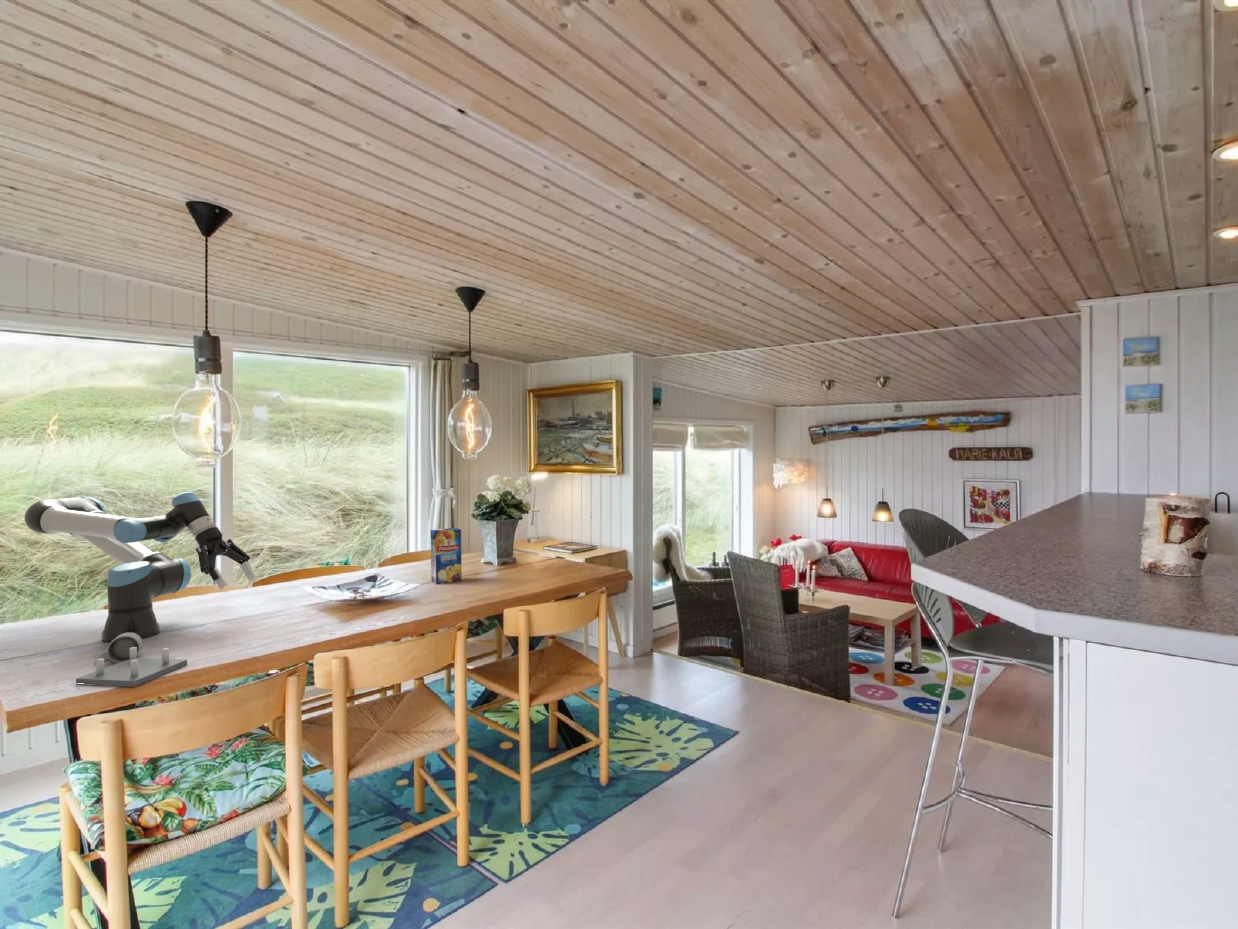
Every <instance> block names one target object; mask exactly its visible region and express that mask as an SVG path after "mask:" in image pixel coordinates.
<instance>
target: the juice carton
mask: <svg viewBox="0 0 1238 929" xmlns="http://www.w3.org/2000/svg"><path fill="white" fill-rule="evenodd" d="M462 568H463V567H462V529H461V528H457V527H452V528H451V527H449V528H437V529H430V569H431V570H430V571H431V572H430V573H431V574H430V575H431V576H430V577H431V578H430V580H431V581H432V582H431V583H433V582H434V583H433V584H435V583H436V584H435V585H440V584H439V583H444V584H447V583H446V582H452V583H459V582H458V581H461V582H462V580H463V579H462V574H463V573H462V570H463V569H462Z"/></svg>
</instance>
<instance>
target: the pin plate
mask: <svg viewBox="0 0 1238 929" xmlns="http://www.w3.org/2000/svg"><path fill="white" fill-rule="evenodd" d="M129 649H130V659H128V660H125V661H123V662H120V663H114V664H112V665H109V666H106V667H105V661H104V658H101V659H97V660H96V659H95V664H96V666H95V667H96V668H95V671H93V672H90V673H87V674H85V675H82V676H80V677H77V678H75V684H76V683H84V684H95V685H94V686H104V685H111V686H110V687H130V688H133V687H134V688H135V687H138V686H141V685H142V684H145V683H148V682H150V681H153V680H155V679H158V678H159V677H162V676H164V675H166V674H169V673H171V672H173V671H176V670H178V669H182V668H183V667H185V666H187V665H188V659H178V658H170V648H169V647H164V648H161V658H154V657H151V658H148V657H138V655H137V647H131V648H129Z"/></svg>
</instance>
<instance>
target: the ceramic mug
mask: <svg viewBox="0 0 1238 929" xmlns="http://www.w3.org/2000/svg"><path fill="white" fill-rule="evenodd" d="M131 647H137V656H138V654H140V651H141V649H142V647H143V638H141V637H140V636H139V635H137V634H135V633H131V632H129V633H123V634H121V635H119V636H117V637H116V638H115V639H114V640H112V641H111V642H109V644H108V646H107V648H106V651H105V652H104V653H102V654H100V655H98V656H97V657H96V658H95V661H96V660H97V659H101V658H104V662H106V661H108V660H110V661H111V662H113V663H115V664H117V663H120V662H123V661H125V660H128V659H130V649H129V648H131Z"/></svg>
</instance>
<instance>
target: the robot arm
mask: <svg viewBox="0 0 1238 929" xmlns="http://www.w3.org/2000/svg"><path fill="white" fill-rule="evenodd" d="M171 506H172V507H173V508H172V509H170V511H168V512H167V513H165V514H164V515H156V516H148V517H140V518H138V517H129V516H121V515H112V514H106V513H107V512H106V510H105V507H104V504H103V503H102V502H101V501H99V500H98V499H97V498H94V497H91V496H73V497H63V498H62V497H61V498H49V499H48V498H47V499H41V500H38V501H37V502H35V503H32V504H31V505H30V506H29V507H28V508H27V510H26V511H25V514H24V522H25V525H26V526H27V527H28V529H30V530H31V531H32V532H34V533H40V534H45V535H46V534H47V535H48V534H49V535H58V534H60V533H65V534H69V535H71V536H72V537H74V538H76V539H78V540H84V539H85V540H86V541H88V542H89V543H90V544H92V545H94V546H95V547H96V548H98V549H99V550H101V551H102V552H104V553H105V554H107V556H110V557H111V558H112V559H114V560H115V561H117V562H118V563H120V564H119V565H116V566H114V567H112V568H110V569H109V570H108V572H107V580H106V585H107V586H106V588H107V610H108V611H107V618H106V620H105V624H104V629H102V631H101V640H102V641H103V640H104V642H109V641H110V642H111V641H112V640H114V639H115V638H116V637H117V636H119V635H121V634H123V633H129V632H131V633H135V634H137V635H139V636H140V637H141V639H144V637H145V638H148V636H149V637H151V636H155V635H157V634H159V633H160V624H159V622H158V621H157V618H156V614H155V612H154V609H153V607H154V606H153V599H154V598H158V597H162V596H166V595H170V594H175V593H178V592H181V591H182V590H184V589H186V588H187V587H188V586H189V584H190V583H191V582H190V581H191V580H192V579H191V578H192V572H191V571H192V570H191V566H190V564H189V563H188V561H186V560H185V559H184V558H179V557H175V558H171V557H169V556H167V555H166V554H165V553H163V552H162V551H154V552H153V551H152V550H151V549H149V548H147V547H146V546H144V545H143V544H142V543H140V542H144V541H145V542H146V541H150V540H154V541H156V542H159V543H167V542H169V541H170V540H172V539H174V538H175V537H177V536H178V534H180V533H181V532H182V531H183V530H185V529H186V528H187V530H188V531H189V532H190V534H191V535H192V537H194V539H195V540H194V541H196V543H197V545H198V546H197V547H196V548H195V551H196V553H197V555H198V556H197V557H198V560H199V561H198V562H199V568H200V572H201V573H202V574H203V573H204V575H206V576H207V575H209V576H210V578H211V579H212V580H213V581H214V582H215V584H216V585H217V587H218V588H219V590H223V589H224V588H225V587H227V586H228V585H229V583H228V582H227V581H226V580H225V578H224V576H223V575H222V573H221V571H219V569H218V568H216V560H217V557H218V556H223V557H227V558H229V559H231V560H233V561H234V562H235V563H238V564H240V565H239V567H240V568H241V570H242V572H243V574H244V575H245V577H246V578H247V579H248V581H249V582H252V580H254V579H255V578H257V575H256V573H255V572H254V571H253V568H252V566H251V564H250V563H249V560H251V556H249V555H248V554H247V553H246V552H245V551H244V550H243V549H241V548H240V547H239V546H238V545H236V544H235V543H234V542H233V541H232V539H231V538H229V539H227V540H226V541H225V540H224V539H223V534H222V531H221V530H220V529H219V527H218V526H217V524H216V523H215V522H214V520H213V519H212V518H211V515H210V514H209V513H208V511H207V509H206V508H205V506H204V504H203V502H202V500H201V499H200V498H199V497H198V495H197V494H196V493H195V492H193V491H185V492H181V493H179V494H177V495H175V496H173V498H172V500H171ZM156 633H157V634H156ZM110 642H109V643H110Z"/></svg>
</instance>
